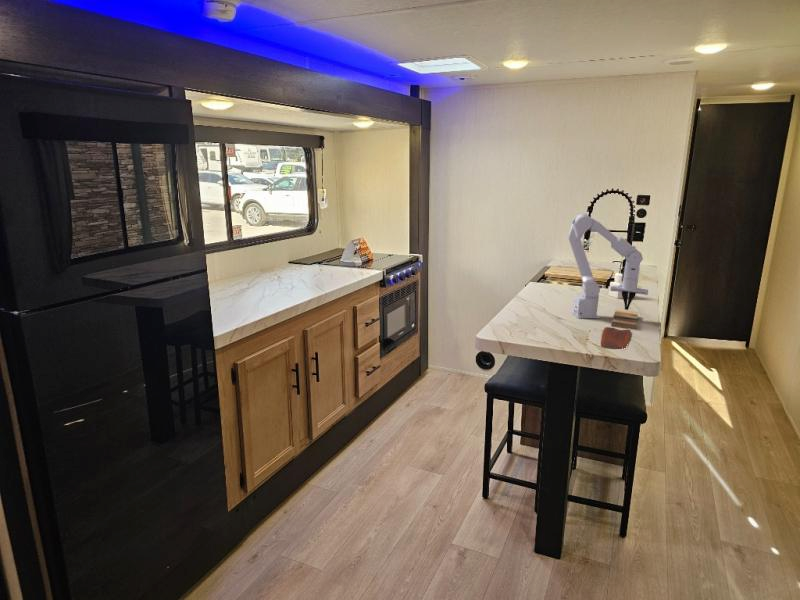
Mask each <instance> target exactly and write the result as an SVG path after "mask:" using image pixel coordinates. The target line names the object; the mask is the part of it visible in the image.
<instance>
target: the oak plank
mask: <svg viewBox="0 0 800 600" xmlns="http://www.w3.org/2000/svg"><path fill="white" fill-rule="evenodd" d="M638 313H639V312H638V311H632V310H631V311H630V310H625V309H624V310H623V309H615V311H614V314H613V316H622V317H629V318H637V319H638V315H639V314H638Z"/></svg>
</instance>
